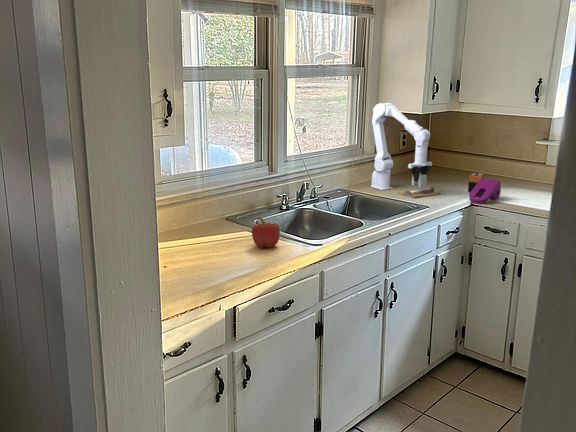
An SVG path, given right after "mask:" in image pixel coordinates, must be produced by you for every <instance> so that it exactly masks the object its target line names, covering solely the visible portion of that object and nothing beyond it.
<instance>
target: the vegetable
mask: <svg viewBox="0 0 576 432" xmlns="http://www.w3.org/2000/svg"><path fill="white" fill-rule="evenodd" d="M256 220H259V221H261V223H258V224H256V225H254V226H252V228H251V236H252V240H253V243H254V245H256V246H257V247H259V248H260V249H264V248H271V247H275V246H276V245H277V244H278V242H279V240H280V226H279V224H278V223H271V222H267V223H266V221H265V220H264V218H262V217H261V216H259V217H256Z"/></svg>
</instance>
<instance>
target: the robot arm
mask: <svg viewBox="0 0 576 432" xmlns="http://www.w3.org/2000/svg"><path fill="white" fill-rule="evenodd" d="M372 109H373V110H372V113H373V114H372V117H371V123H372V129H373V136H374V142H375V143H374V144H375V149H376V156H375V157H374V165H373V166H374V171H373V172H372V175H371V185H370V187H371V188H373V189H377V190H379V191H380V190H381V191H384V190H390V189H391V190H392V189H394V187H392V186H391V185H390V184H391V170H392V168H394V161H393V159H392V156H391V154H390V153H389V152H388V146H387V140H386V134H385V132H386V131H385V126H384V122H385V120H386V119H387V118H388V117H393V118H394V119H395V120H396V121H398V122H399V123H401V125H403V126H404V129H405V131H407V132H408V133H410V135H411V136H413V138H414V141H415V151H414V162H412V163H408V165H407V168H408V169H409V170H410V171H411V174H413V178H414V181H415V182H418V178H419V173H420V174H425V175H427V176H428V173H429V171H430V170H431V167H432V166H433V162H432V161H427V160H428V159H427V157H428V145H429V140H430V138H431V132H430V131H429V130H428V129H426V128H425V129H424V127H423V126H421V125H419V124H418V123H417V121H416V120H413V119H409V118H407V117H406V116H405V115H404V114H403V113H402V112H401V111H400V110H399V109H398V108H397V107H396V105H394V104H393V103H391V102H385V103H377V104H376V105H375V106H374V107H373V108H372Z"/></svg>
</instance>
